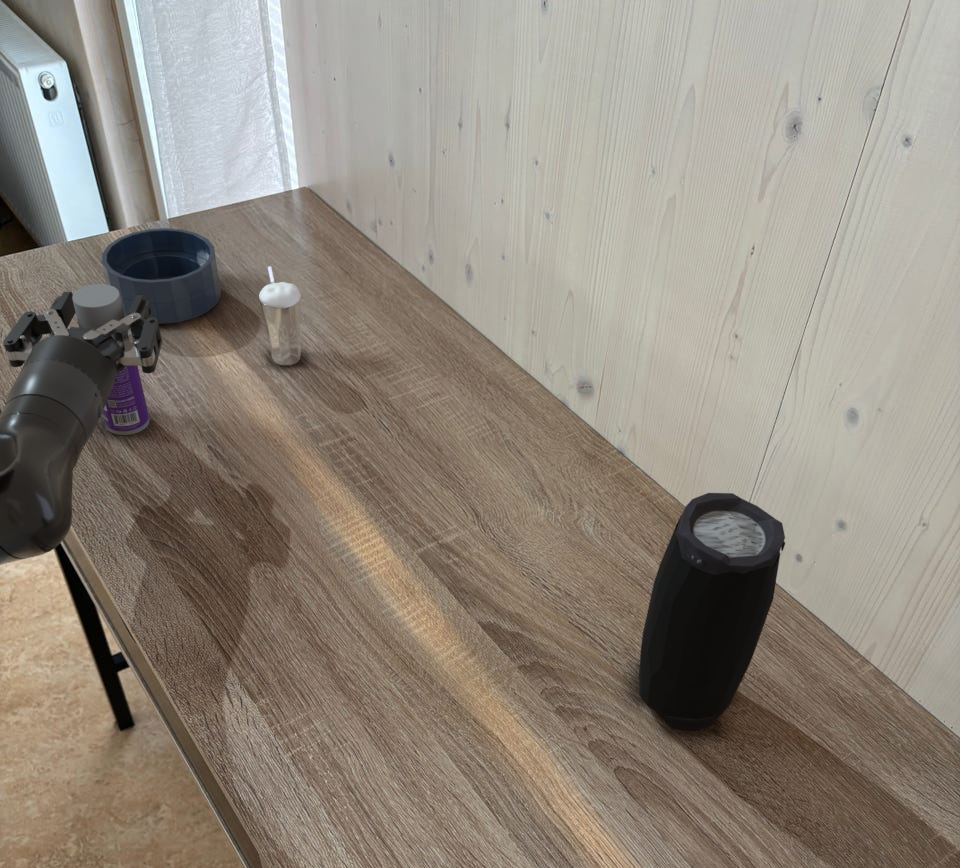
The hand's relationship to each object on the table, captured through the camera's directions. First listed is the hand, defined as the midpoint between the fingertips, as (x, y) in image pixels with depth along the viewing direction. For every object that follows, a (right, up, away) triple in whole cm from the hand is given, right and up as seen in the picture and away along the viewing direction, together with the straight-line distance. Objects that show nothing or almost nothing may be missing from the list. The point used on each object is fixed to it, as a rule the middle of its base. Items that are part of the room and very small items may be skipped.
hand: (106, 301), depth 105 cm
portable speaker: (+55, -39, -15) cm, 69 cm away
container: (-1, -11, +8) cm, 13 cm away
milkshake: (+15, -1, +18) cm, 23 cm away
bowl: (-1, +8, +25) cm, 27 cm away
